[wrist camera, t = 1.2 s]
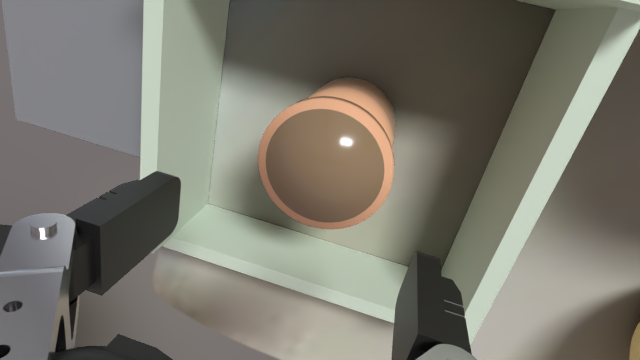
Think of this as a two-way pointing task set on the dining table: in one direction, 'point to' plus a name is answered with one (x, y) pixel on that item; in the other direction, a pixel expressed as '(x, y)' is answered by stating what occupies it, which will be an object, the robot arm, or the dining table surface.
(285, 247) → the pale green open box
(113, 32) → the slate board
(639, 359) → the sculpture
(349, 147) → the terracotta pot
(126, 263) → the robot arm
